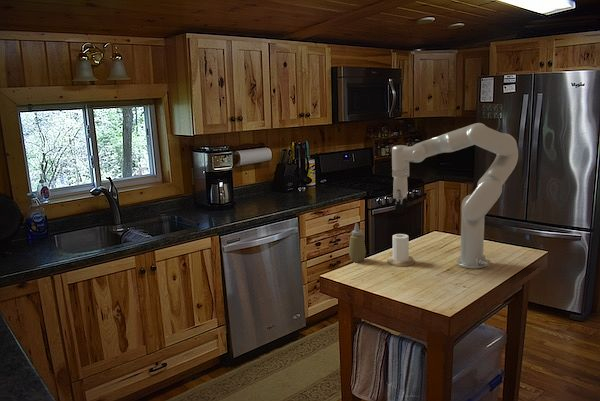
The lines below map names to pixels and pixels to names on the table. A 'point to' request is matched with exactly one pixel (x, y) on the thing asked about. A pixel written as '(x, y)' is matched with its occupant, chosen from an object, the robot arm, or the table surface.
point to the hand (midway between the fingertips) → (401, 210)
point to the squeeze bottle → (357, 245)
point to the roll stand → (400, 264)
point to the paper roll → (400, 247)
